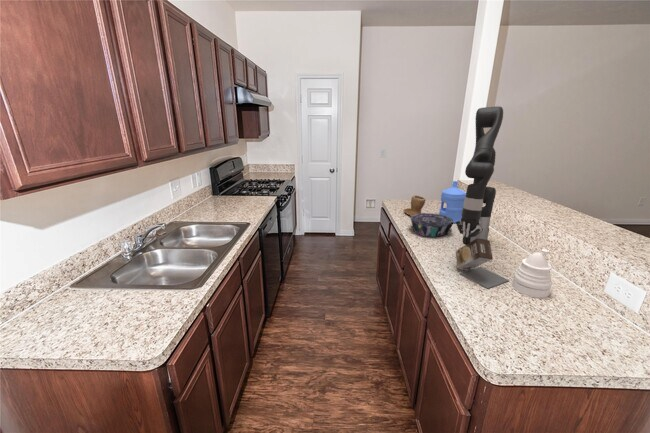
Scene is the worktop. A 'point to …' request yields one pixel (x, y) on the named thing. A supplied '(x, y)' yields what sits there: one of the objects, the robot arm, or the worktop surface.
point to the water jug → (452, 202)
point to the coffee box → (474, 254)
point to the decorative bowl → (431, 224)
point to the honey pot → (533, 276)
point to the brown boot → (415, 205)
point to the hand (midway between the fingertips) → (465, 244)
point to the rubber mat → (484, 277)
